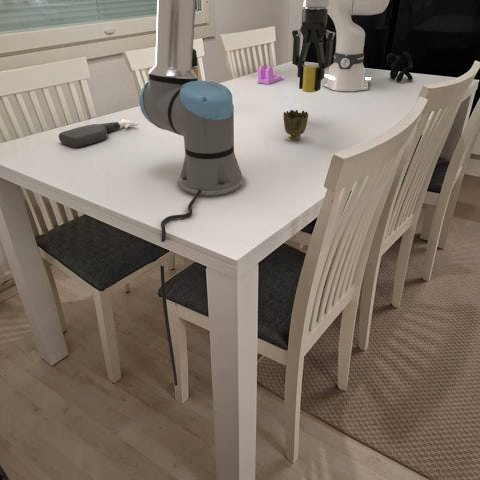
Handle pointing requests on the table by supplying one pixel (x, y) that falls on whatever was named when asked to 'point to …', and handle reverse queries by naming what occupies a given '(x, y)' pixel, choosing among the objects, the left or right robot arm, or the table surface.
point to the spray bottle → (91, 133)
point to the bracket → (267, 75)
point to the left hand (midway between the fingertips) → (309, 88)
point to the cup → (295, 123)
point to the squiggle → (399, 66)
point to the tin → (309, 78)
